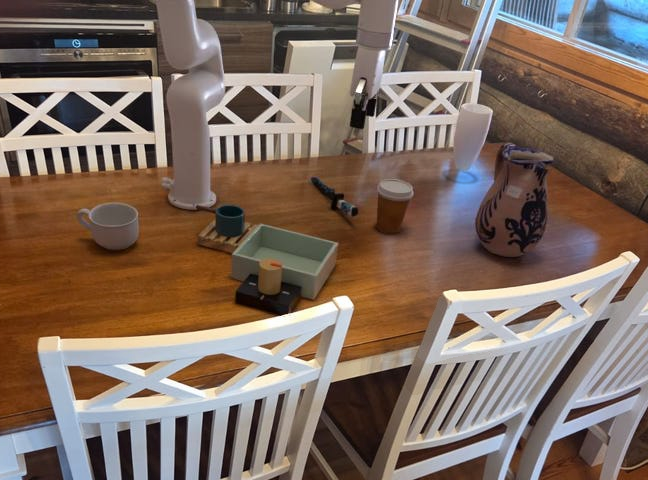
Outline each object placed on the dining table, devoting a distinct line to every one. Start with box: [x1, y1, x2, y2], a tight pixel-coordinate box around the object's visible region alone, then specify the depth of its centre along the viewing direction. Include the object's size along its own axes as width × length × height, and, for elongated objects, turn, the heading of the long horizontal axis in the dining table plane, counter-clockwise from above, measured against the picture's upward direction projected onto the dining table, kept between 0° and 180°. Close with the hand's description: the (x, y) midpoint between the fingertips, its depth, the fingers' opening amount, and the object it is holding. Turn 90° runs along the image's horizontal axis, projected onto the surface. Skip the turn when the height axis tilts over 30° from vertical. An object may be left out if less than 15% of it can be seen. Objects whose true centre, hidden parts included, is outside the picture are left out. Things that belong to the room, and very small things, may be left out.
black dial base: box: [234, 273, 302, 316], centre depth 134 cm, size 12×9×3 cm
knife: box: [310, 176, 359, 218], centre depth 176 cm, size 31×3×4 cm, turn 20°
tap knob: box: [258, 258, 282, 295], centre depth 132 cm, size 5×5×6 cm
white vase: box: [452, 102, 494, 172], centre depth 196 cm, size 10×10×22 cm
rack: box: [197, 219, 259, 254], centre depth 153 cm, size 12×12×3 cm
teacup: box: [76, 202, 140, 251], centre depth 145 cm, size 14×11×8 cm
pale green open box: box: [230, 223, 339, 300], centre depth 144 cm, size 20×17×6 cm
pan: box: [196, 204, 246, 238], centre depth 151 cm, size 12×7×5 cm, turn 73°
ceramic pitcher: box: [474, 142, 555, 258], centre depth 159 cm, size 18×21×25 cm
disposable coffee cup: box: [376, 178, 415, 234], centre depth 165 cm, size 10×10×12 cm
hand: (362, 121), depth 142 cm, fingers open, 9 cm apart
